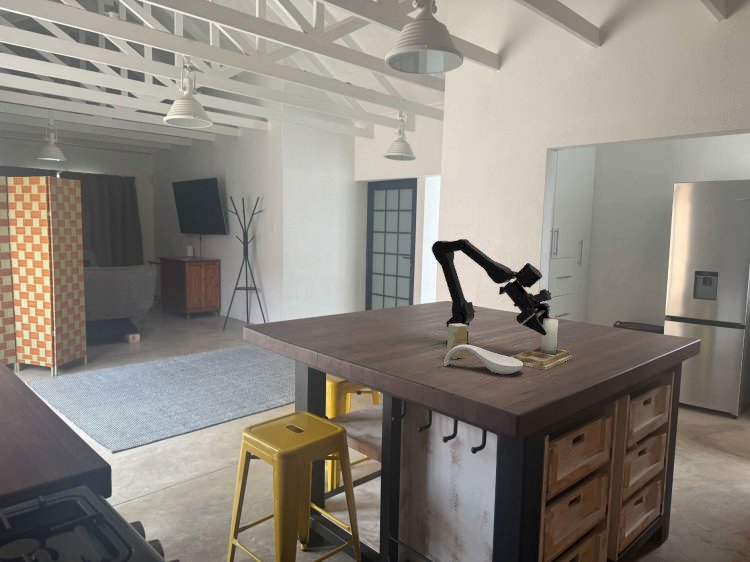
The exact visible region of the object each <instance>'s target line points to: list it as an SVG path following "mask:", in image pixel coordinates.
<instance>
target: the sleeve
mask: <svg viewBox="0 0 750 562" xmlns="http://www.w3.org/2000/svg"><path fill="white" fill-rule="evenodd" d="M542 326H543V328H544V329H545V331H546V333H547V334H546V335H545V336H544V335H542V334H541V345H540V347H541V353H544V354H550V355H556V349H557V342H558V332H559V331H558V328H559V319H557V318H550V319H549V318H546V319H543V325H542Z"/></svg>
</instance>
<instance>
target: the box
mask: <svg viewBox="0 0 750 562" xmlns="http://www.w3.org/2000/svg"><path fill="white" fill-rule="evenodd" d="M468 328H469V326H467V325H464V324H461V323H459V324H449V325H448V328H447V340H448V342H446V343H447V344H446V345H447V347H446V354H447V353H448V352H449V351H450V350H451V349H453V348H454V347H456V346H458V345H467V343H468V342H467V331H468V330H469V329H468ZM465 357H466V358H467V350H465V349H463V350H458V351H456V352H454V353H453V354H452V356H451V359H453V360H457V358H461V359H466V358H465Z"/></svg>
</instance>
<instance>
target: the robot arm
mask: <svg viewBox="0 0 750 562" xmlns="http://www.w3.org/2000/svg"><path fill="white" fill-rule="evenodd" d="M460 251H461V252H462V253H463V254H465V255H466V256H467V257H469V259H471V260H472V261H473V262H475V264H476V265H478V266H480V267H481V268H482V269H483V270H484V271H485V273H486V274H487V276H488V277H489V278H490V279H491V281H492V282H493V283H495V284H497V285H500V284H501V285H502V284H505V285H504V286H503V285H502V286H499V292H498V295H504V294H506V295H507V296H508V297H509V298H510V300H511V301H512V302H513V307H515V308H516V307H517V308H518V309H519V311H520V313H518V314H517V315H516V317H515V318H516V320H515V321H516V322H518V325H522V326H524V327H526V328H529V329H530V330H533V331H535V332H536V333H538V334H540V335H541V336H542V335H544V336H545V335H546V334H547V333H546V331H545V329H544V328H543V319H546V318H549V319H551V317H550V311H551V309H550V308H551V306H550V305H549V304H548V303H547V301H551V300H553V299H552V293H551V292H550V290H547V289H546V288H544V289H540V290H539V293H537V294H533V293H532V292H529V293H528V291H527V290H526V288H528V289H531V287H533V286H534V285H535V284H536V283H537V282H538V281H540V280H541V279H542V278H543V274H542V272H541V271H540V270H539V269H538V268H536V267H535V266H533V265H532V264H531V263H530V262H527V263H526V264H525V265H523V267H522V268H521V269H520V270H519V271H513V270H512V269H511V268H510V267H508V266H506V265H505V264H502V263H500V262H498V261H495V260H493V259H492V258H490V257H489V256H488V255H486V254H485V253H484V252H483V251H481V250H480V249H479V248H478V247H477V246H475V245H474V244H473V243H471V242H470V240H469V239H467V238H459V239H457V240H456V239H455V240H451V241H448V240H436V241H435V242H434V243H433V244H432V246H431V252H432V254H433V257H435V261H437V263H438V264H439V265H440V266H441V269H442V273H443V276H444V279H445V282H446V285H447V290H448V292H449V295H450V299H451V302H452V303H451V317H450V318H449V319H448V320H447V321H446V322H445V324H446V328H447V329H448V325H449V324H459V323H461V324H464V325H467V326H468V327H469V326H470V324H471V322H473V320H474V318H475V312H476V311H475V309H474V307H473V306H474V305H473V301H467V299H466V298H465V295H464V292H463V291H464V290H463V288H462V285H461V282H460V279H459V275H458V273H457V269H456V266H455V262H454V260H455V252H460ZM511 280H514V281H512V282H511ZM445 341H446V343H448V339H446V340H445ZM467 344H469V345H470V343H469V331H468V330H467Z"/></svg>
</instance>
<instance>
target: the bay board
mask: <svg viewBox="0 0 750 562" xmlns="http://www.w3.org/2000/svg"><path fill="white" fill-rule="evenodd" d="M510 357H511V358H515V359H517V360H520V361H521V362H522V363H523V365H524V366H525V367H528V366H529V368H533V367H534V369H539V370H544V371H547V370H549V368H550V369H552V368H554V367H556V365H557V366H558V364H559V365H562V364H563V363H565V361H566V362H568V361H570V360H572V359H573V355H572V354H570V351H569V350H564V349H558V348H556V355H550V354H544V353H541V346H538V347H536V348H531V349H529V350H525V351H523V352H520V353H517V354H513V355H511V356H510ZM569 359H570V360H569ZM567 360H568V361H567ZM524 366H523V367H524Z"/></svg>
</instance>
